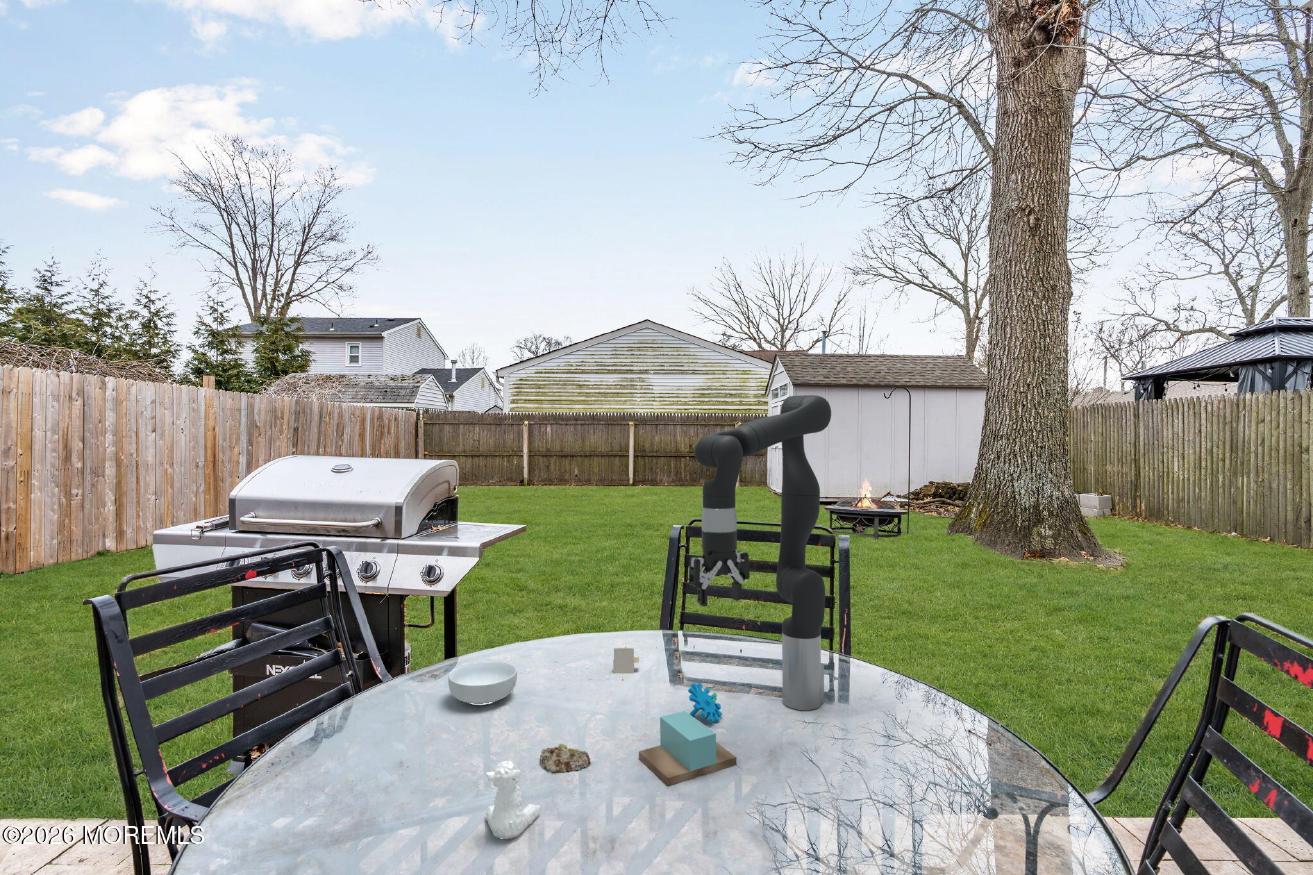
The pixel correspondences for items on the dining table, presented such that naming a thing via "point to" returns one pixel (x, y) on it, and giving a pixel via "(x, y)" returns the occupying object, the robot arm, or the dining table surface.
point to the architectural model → (624, 660)
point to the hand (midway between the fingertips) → (719, 602)
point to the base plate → (677, 772)
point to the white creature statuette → (508, 803)
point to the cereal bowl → (482, 681)
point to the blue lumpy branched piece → (704, 703)
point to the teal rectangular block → (688, 740)
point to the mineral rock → (563, 759)
